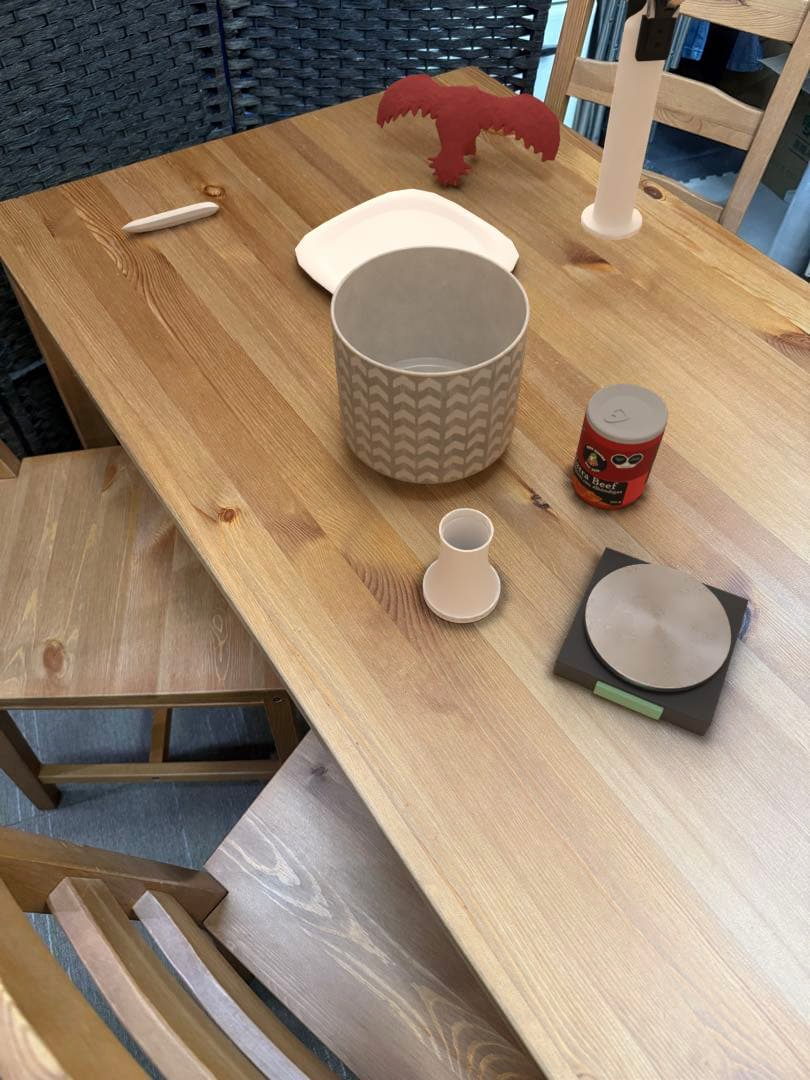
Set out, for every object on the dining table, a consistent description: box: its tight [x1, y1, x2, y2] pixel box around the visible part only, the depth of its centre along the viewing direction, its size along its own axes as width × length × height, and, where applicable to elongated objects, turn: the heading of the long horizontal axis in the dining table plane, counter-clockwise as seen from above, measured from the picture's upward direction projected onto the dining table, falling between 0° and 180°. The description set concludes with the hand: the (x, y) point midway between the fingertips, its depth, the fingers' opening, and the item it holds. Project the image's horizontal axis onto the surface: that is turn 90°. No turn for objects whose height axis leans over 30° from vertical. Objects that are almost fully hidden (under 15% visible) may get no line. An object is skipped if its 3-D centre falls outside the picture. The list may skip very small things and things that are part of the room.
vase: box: [422, 507, 501, 624], centre depth 80 cm, size 8×8×10 cm
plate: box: [294, 188, 520, 296], centre depth 114 cm, size 25×25×2 cm
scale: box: [552, 546, 749, 737], centre depth 79 cm, size 14×14×4 cm
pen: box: [120, 201, 220, 233], centre depth 119 cm, size 2×14×2 cm, turn 116°
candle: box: [580, 0, 666, 241], centre depth 90 cm, size 7×7×25 cm
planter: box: [329, 245, 531, 485], centre depth 89 cm, size 19×19×18 cm
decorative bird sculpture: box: [375, 73, 561, 188], centre depth 125 cm, size 28×9×15 cm
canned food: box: [571, 383, 669, 510], centre depth 87 cm, size 8×8×11 cm
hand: (644, 44), depth 84 cm, fingers closed on candle, 4 cm apart
